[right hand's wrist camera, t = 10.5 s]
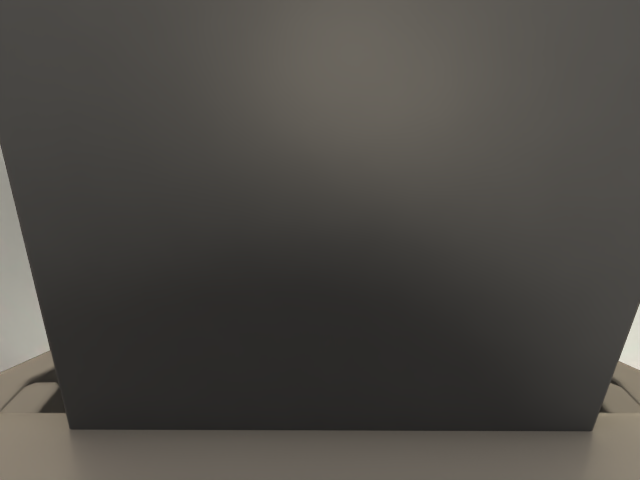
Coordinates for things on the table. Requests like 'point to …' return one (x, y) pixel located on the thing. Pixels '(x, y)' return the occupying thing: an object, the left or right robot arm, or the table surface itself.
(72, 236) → the box
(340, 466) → the right robot arm
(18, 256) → the table surface
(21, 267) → the table surface
